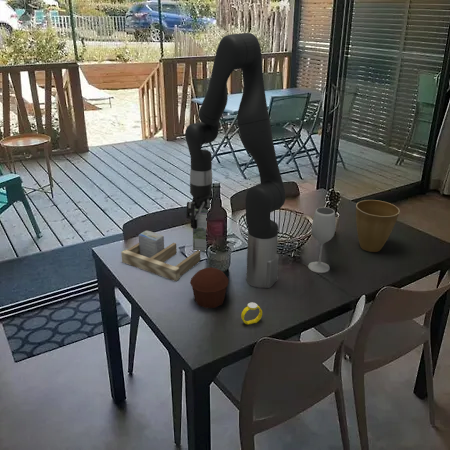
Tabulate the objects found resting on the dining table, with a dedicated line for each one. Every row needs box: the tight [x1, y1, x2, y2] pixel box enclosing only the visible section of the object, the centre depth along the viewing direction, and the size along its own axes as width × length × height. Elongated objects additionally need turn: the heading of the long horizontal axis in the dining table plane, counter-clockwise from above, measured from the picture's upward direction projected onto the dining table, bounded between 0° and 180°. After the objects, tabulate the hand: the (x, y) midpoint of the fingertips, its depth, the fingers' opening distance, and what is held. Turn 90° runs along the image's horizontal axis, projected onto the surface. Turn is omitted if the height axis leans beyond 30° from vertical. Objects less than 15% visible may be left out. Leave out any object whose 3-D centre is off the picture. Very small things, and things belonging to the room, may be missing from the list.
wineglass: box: [307, 206, 336, 274], centre depth 160 cm, size 8×8×21 cm
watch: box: [240, 301, 263, 325], centre depth 136 cm, size 6×3×6 cm, turn 113°
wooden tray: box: [120, 242, 202, 282], centre depth 166 cm, size 23×15×4 cm, turn 59°
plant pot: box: [355, 199, 401, 253], centre depth 175 cm, size 15×15×16 cm
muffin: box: [189, 266, 230, 309], centre depth 144 cm, size 12×11×10 cm
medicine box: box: [138, 230, 165, 258], centre depth 168 cm, size 8×4×9 cm, turn 58°
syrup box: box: [192, 208, 208, 251], centre depth 173 cm, size 6×6×14 cm
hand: (200, 223), depth 172 cm, fingers open, 8 cm apart
